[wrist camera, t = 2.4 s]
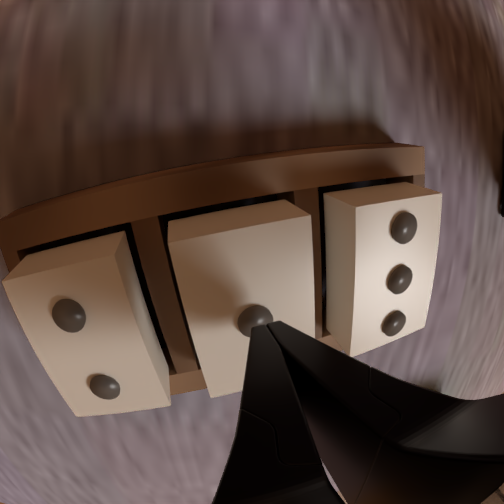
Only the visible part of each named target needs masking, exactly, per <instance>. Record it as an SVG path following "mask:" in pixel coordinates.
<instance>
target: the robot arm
mask: <svg viewBox="0 0 504 504" xmlns="http://www.w3.org/2000/svg"><path fill="white" fill-rule="evenodd" d="M501 215H502V217H504V187H503V199H502V209H501ZM320 458H321V459H322V461H323V463H324V465H325V466H326V468H327V470H328V471H329V473H330V475H331V477H332V478H333V480H334V482H335V483H336V485H337V487H338V488H339V490H340V492H341V493H342V495H343V497H344V498H345V500H346V502H347V503H348V504H504V394H500V395H496V396H492V397H488V398H484V399H479V400H465V399H459V398H455V397H451V396H448V395H445V394H442V393H438V392H435V391H432V390H429V389H426V388H423V387H420V386H417V385H414V384H411V383H408V382H406V381H403V380H400V379H398V378H395V377H393V376H391V375H389V374H386V373H384V372H382V371H380V370H378V369H376V368H373V367H370V366H369V365H367V364H365V363H363V362H361V361H359V360H357V359H355V358H353V357H351V356H349V355H347V354H345V353H343V352H341V351H339V350H337V349H335V348H333V347H331V346H329V345H327V344H325V343H323V342H321V341H319V340H317V339H315V338H313V337H311V336H309V335H307V334H305V333H303V332H301V331H299V330H297V329H296V328H294V327H292V326H290V325H288V324H286V323H284V322H282V321H274V322H271V323H267V324H266V325H264V324H263V325H259V326H255V327H252V328H251V333H250V340H249V347H248V355H247V362H246V369H245V376H244V383H243V390H242V397H241V404H240V410H239V416H238V422H237V427H236V432H235V437H234V441H233V444H232V448H231V451H230V455H229V457H228V460H227V463H226V466H225V469H224V472H223V475H222V478H221V480H220V483H219V486H218V489H217V492H216V494H215V497H214V499H213V501H212V504H345V502H344V501H343V500H342V499H341V497H340V496H339V495H338V493H337V492H336V491H335V489H334V488H333V486H332V485H331V483H330V481H329V479H328V477H327V475H326V473H325V470H324V467H323V466H322V462H321V459H320Z"/></svg>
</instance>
